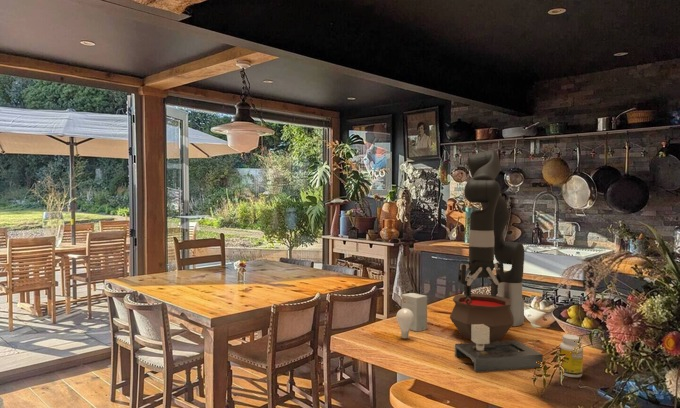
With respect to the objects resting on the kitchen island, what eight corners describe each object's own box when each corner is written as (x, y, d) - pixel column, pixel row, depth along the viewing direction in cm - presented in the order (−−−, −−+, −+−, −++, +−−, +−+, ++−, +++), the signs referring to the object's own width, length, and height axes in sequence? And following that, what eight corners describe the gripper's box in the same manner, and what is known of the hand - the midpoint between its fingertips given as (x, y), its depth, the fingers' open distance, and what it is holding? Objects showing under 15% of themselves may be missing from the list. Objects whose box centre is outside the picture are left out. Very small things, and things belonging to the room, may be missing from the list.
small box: (427, 329, 181) (427, 295, 181) (416, 332, 177) (416, 298, 177) (411, 324, 187) (412, 292, 187) (400, 327, 183) (401, 294, 183)
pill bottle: (554, 370, 140) (555, 333, 139) (574, 369, 140) (575, 333, 140) (566, 378, 133) (567, 340, 133) (587, 377, 134) (587, 339, 134)
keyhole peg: (483, 359, 148) (483, 323, 148) (491, 365, 143) (491, 327, 143) (468, 360, 147) (469, 324, 147) (476, 366, 142) (476, 328, 142)
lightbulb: (415, 337, 170) (416, 307, 170) (410, 342, 164) (411, 311, 164) (399, 335, 173) (399, 305, 173) (393, 340, 167) (393, 309, 167)
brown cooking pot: (498, 352, 155) (499, 303, 155) (435, 336, 172) (436, 292, 171) (526, 336, 173) (527, 292, 173) (466, 323, 189) (467, 283, 189)
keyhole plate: (516, 352, 155) (516, 339, 155) (542, 367, 142) (542, 353, 142) (454, 356, 151) (455, 343, 151) (475, 372, 137) (475, 358, 137)
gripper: (496, 243, 149) (495, 293, 150) (454, 243, 146) (454, 295, 147) (509, 245, 142) (508, 298, 142) (465, 246, 139) (465, 300, 140)
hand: (480, 296), depth 145 cm, fingers open, 8 cm apart
